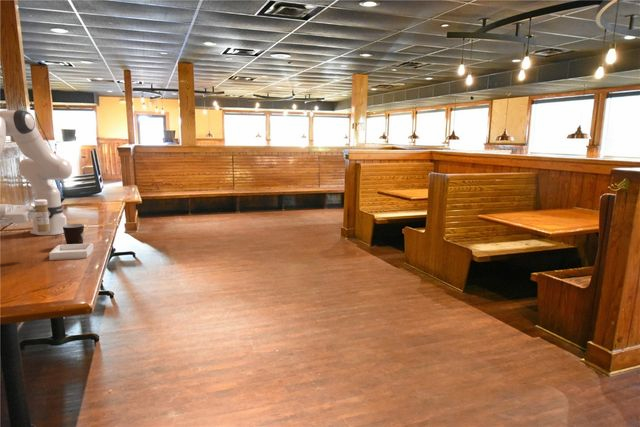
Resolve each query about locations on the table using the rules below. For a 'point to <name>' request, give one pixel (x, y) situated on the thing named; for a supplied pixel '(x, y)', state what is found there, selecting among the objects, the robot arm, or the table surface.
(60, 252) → the tray
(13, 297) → the table surface
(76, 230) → the coffee mug
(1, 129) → the robot arm
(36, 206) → the sprinkles bottle
